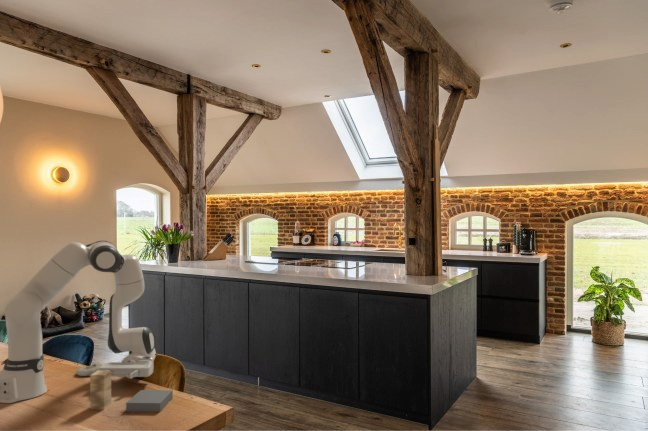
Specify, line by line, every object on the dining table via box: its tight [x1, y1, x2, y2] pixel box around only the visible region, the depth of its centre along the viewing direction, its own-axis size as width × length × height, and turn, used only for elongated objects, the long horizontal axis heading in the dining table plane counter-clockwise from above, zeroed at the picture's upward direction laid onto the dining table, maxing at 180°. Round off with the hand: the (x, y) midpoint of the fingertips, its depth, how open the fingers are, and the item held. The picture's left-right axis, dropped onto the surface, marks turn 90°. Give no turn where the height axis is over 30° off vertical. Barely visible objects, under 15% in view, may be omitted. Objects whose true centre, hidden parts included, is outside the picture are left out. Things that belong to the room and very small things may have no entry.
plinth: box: [125, 389, 174, 413], centre depth 168 cm, size 12×12×3 cm
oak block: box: [89, 371, 112, 410], centre depth 167 cm, size 5×5×12 cm
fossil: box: [75, 362, 102, 377], centre depth 203 cm, size 11×4×10 cm
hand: (116, 376), depth 179 cm, fingers open, 8 cm apart
